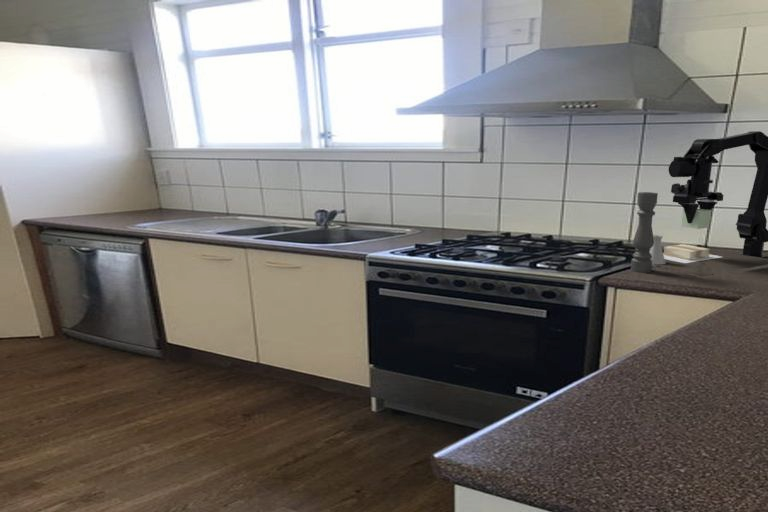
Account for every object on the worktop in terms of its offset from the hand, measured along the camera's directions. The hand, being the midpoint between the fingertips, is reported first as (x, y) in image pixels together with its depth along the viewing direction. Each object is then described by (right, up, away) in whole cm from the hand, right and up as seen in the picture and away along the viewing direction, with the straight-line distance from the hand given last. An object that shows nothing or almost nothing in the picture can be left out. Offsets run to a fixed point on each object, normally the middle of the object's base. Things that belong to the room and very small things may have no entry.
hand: (695, 222), depth 189 cm
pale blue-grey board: (-1, -13, +4) cm, 13 cm away
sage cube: (0, -2, 0) cm, 2 cm away
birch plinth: (-1, -12, +4) cm, 12 cm away
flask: (-16, -15, -4) cm, 22 cm away
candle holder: (-24, -16, -10) cm, 31 cm away
